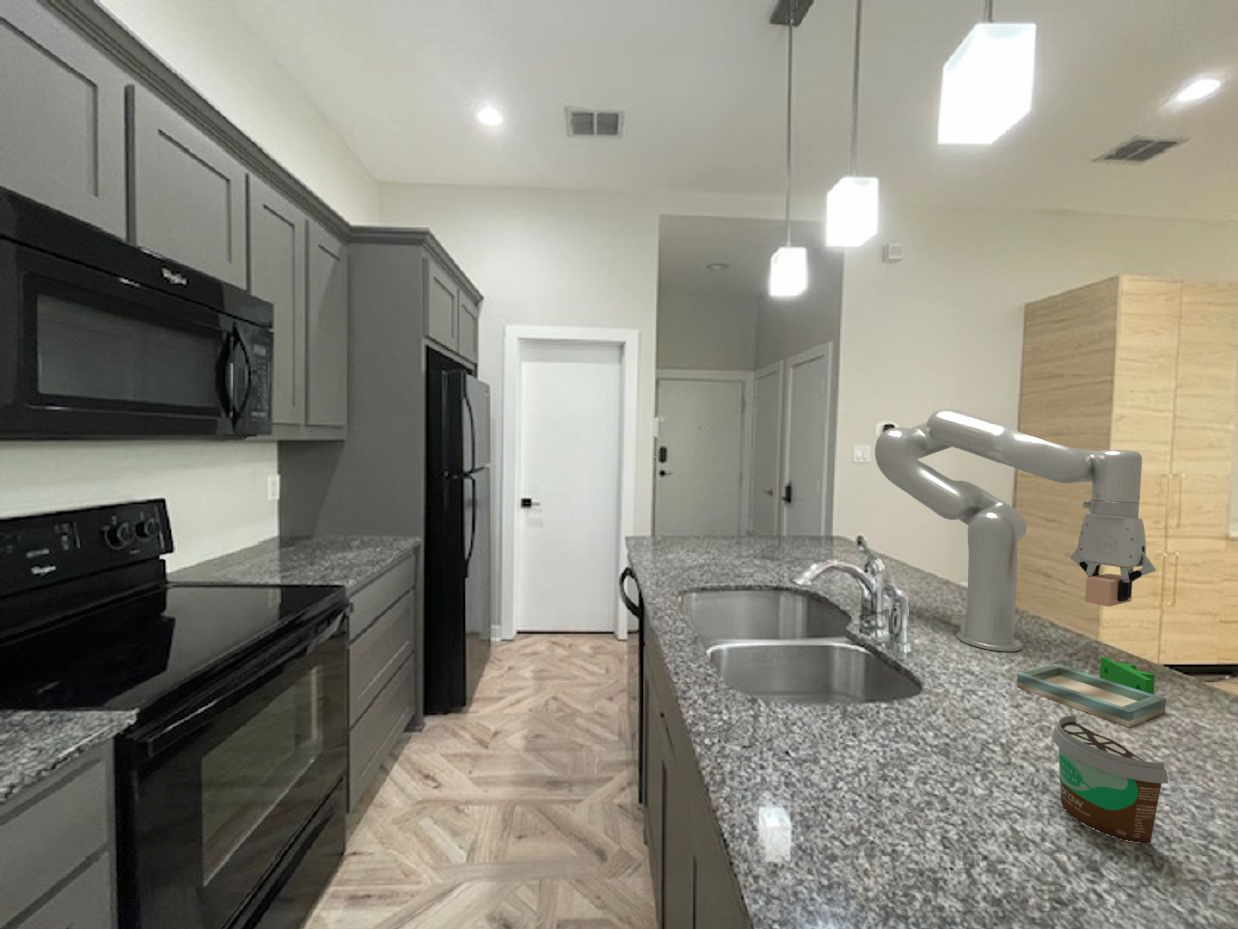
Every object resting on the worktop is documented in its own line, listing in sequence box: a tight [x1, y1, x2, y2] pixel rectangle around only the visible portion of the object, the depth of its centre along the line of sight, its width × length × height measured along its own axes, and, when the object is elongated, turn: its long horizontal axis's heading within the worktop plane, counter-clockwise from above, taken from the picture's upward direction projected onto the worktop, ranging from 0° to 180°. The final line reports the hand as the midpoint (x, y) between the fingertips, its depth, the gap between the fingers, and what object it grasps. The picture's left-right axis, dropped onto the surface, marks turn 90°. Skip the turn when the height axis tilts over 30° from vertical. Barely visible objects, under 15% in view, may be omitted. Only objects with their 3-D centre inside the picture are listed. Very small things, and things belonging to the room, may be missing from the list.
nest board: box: [1016, 663, 1167, 728], centre depth 104 cm, size 17×13×2 cm
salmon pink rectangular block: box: [1084, 573, 1133, 608], centre depth 118 cm, size 4×10×5 cm, turn 119°
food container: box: [1051, 714, 1169, 844], centre depth 69 cm, size 12×6×10 cm, turn 5°
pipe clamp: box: [1099, 656, 1156, 695], centre depth 108 cm, size 11×4×5 cm, turn 173°
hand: (1108, 596), depth 118 cm, fingers closed on salmon pink rectangular block, 4 cm apart
